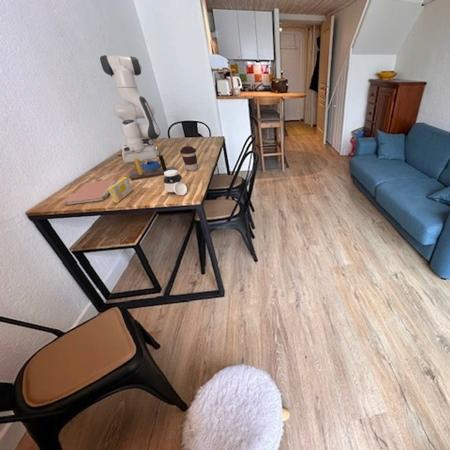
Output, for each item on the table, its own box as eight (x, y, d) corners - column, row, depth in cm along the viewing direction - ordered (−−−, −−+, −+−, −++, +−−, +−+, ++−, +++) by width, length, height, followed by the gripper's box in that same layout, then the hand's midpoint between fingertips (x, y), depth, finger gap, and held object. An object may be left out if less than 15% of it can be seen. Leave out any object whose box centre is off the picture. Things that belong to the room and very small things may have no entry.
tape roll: (143, 171, 170) (142, 166, 168) (142, 166, 178) (140, 162, 176) (160, 168, 175) (159, 163, 173) (159, 164, 183) (157, 160, 181)
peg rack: (131, 180, 155) (125, 162, 149) (131, 175, 163) (124, 158, 157) (176, 172, 167) (171, 155, 161) (173, 168, 174) (169, 152, 168)
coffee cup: (202, 167, 176) (198, 146, 168) (193, 172, 168) (188, 149, 160) (191, 166, 179) (186, 145, 171) (181, 170, 171) (175, 148, 163)
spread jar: (174, 187, 145) (169, 168, 138) (193, 188, 144) (188, 169, 137) (163, 196, 134) (156, 176, 128) (182, 197, 133) (177, 176, 127)
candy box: (129, 190, 142) (124, 176, 137) (133, 190, 142) (128, 176, 138) (113, 203, 128) (107, 188, 124) (118, 202, 128) (111, 188, 124)
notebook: (105, 200, 131) (103, 196, 130) (67, 205, 126) (65, 201, 125) (118, 182, 153) (117, 179, 152) (86, 185, 148) (85, 182, 147)
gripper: (153, 143, 173) (159, 162, 180) (118, 147, 164) (126, 167, 171) (154, 145, 169) (160, 165, 176) (119, 149, 159) (126, 170, 167)
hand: (143, 166), depth 173 cm, fingers closed on tape roll, 2 cm apart
